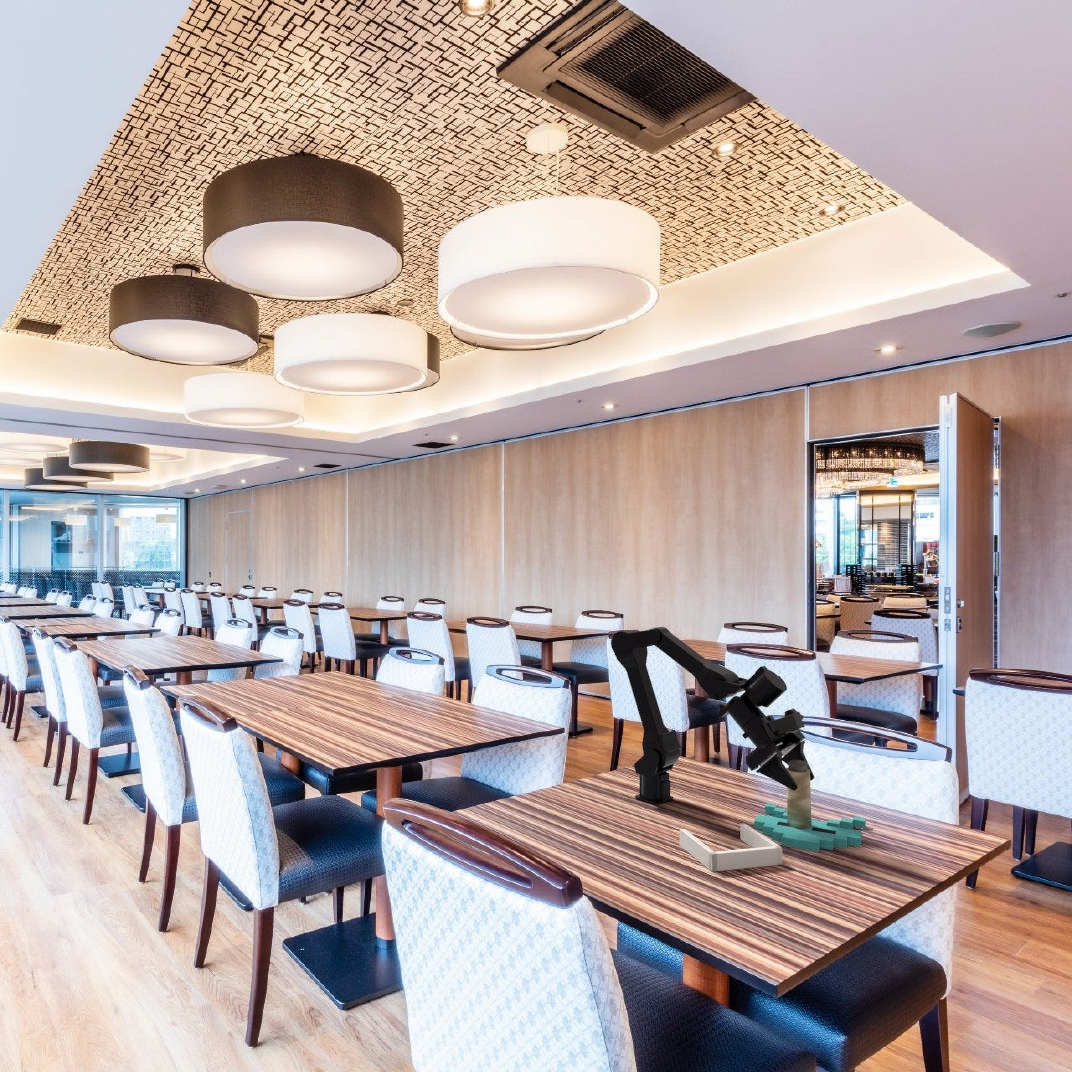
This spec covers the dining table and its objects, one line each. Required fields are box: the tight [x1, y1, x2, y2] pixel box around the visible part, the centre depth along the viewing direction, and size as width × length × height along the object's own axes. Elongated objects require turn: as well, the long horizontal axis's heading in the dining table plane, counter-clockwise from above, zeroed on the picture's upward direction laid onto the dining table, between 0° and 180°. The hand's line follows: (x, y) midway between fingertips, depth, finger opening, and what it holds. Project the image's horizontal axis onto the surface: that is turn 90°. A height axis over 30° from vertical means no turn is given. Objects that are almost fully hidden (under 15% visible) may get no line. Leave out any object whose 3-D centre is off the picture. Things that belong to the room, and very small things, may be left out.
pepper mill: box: [786, 760, 813, 829], centre depth 154 cm, size 5×5×12 cm
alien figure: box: [753, 802, 867, 853], centre depth 154 cm, size 20×2×20 cm
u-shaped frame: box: [679, 823, 783, 873], centre depth 142 cm, size 13×14×3 cm
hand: (804, 784), depth 153 cm, fingers open, 9 cm apart
